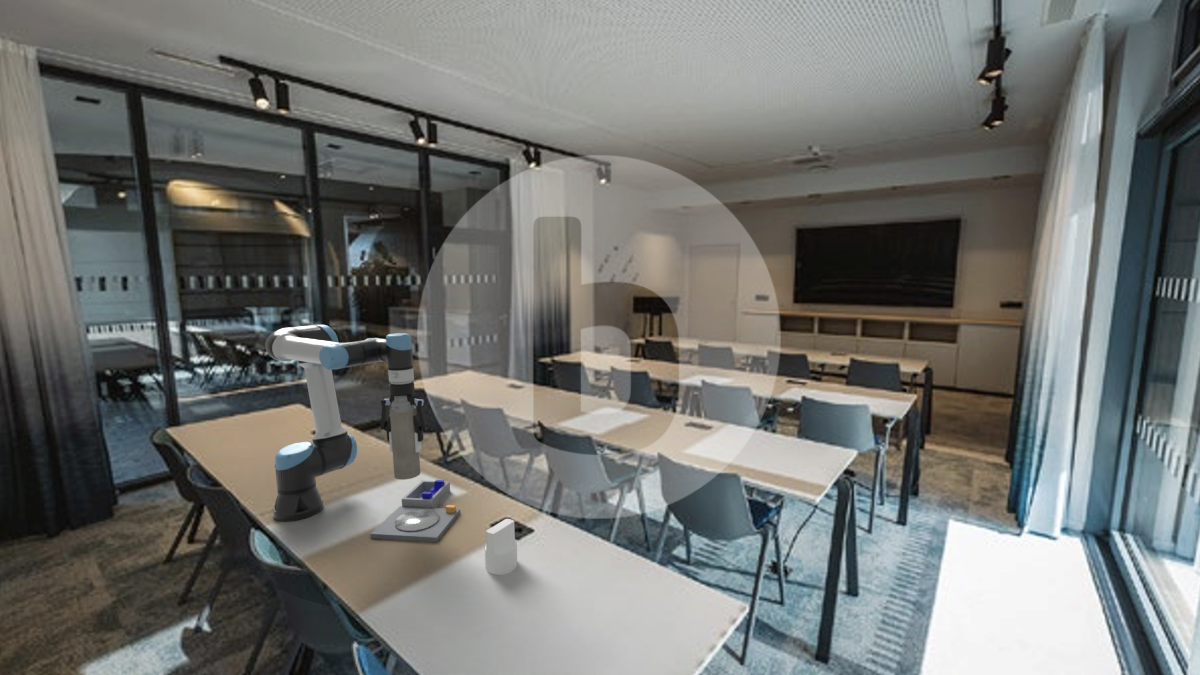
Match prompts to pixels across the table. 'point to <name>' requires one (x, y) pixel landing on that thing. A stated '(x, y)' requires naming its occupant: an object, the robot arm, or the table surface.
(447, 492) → the desk organizer
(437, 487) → the blue stepped block
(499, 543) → the cylinder with rectangular tab
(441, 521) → the rosette base
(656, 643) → the table surface
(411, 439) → the thermos bottle
